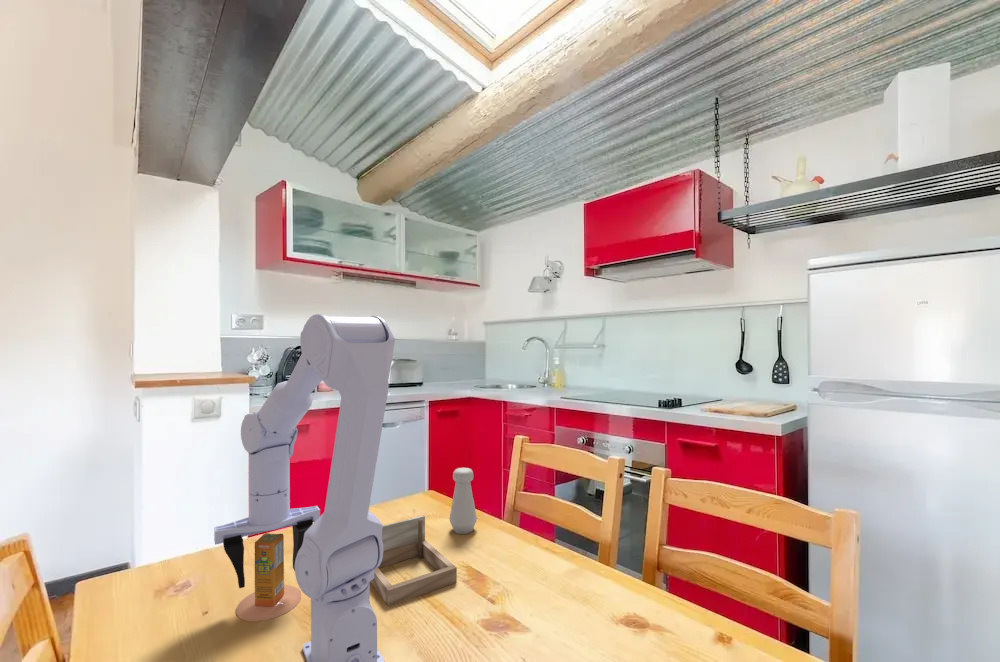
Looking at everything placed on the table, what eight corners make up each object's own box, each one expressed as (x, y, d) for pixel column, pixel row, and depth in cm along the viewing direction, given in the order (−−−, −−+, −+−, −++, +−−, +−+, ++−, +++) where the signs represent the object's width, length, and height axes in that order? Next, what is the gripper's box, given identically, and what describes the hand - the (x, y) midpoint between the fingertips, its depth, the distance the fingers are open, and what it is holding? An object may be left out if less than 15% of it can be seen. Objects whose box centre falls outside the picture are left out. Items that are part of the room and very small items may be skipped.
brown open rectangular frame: (456, 582, 77) (456, 540, 77) (388, 606, 70) (388, 561, 70) (423, 551, 87) (423, 515, 87) (361, 570, 81) (361, 530, 81)
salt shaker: (472, 537, 93) (472, 474, 93) (446, 534, 95) (445, 472, 95) (479, 525, 99) (479, 466, 99) (454, 523, 100) (454, 464, 100)
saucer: (306, 609, 69) (306, 605, 69) (238, 631, 64) (238, 627, 64) (295, 582, 77) (295, 579, 77) (233, 600, 72) (233, 597, 72)
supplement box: (252, 607, 69) (252, 541, 69) (265, 594, 72) (265, 531, 72) (273, 608, 69) (273, 542, 69) (285, 595, 72) (285, 532, 72)
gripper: (313, 474, 78) (313, 553, 78) (213, 491, 70) (213, 579, 70) (323, 485, 72) (323, 571, 72) (215, 505, 64) (215, 602, 64)
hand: (269, 577), depth 70 cm, fingers open, 7 cm apart
